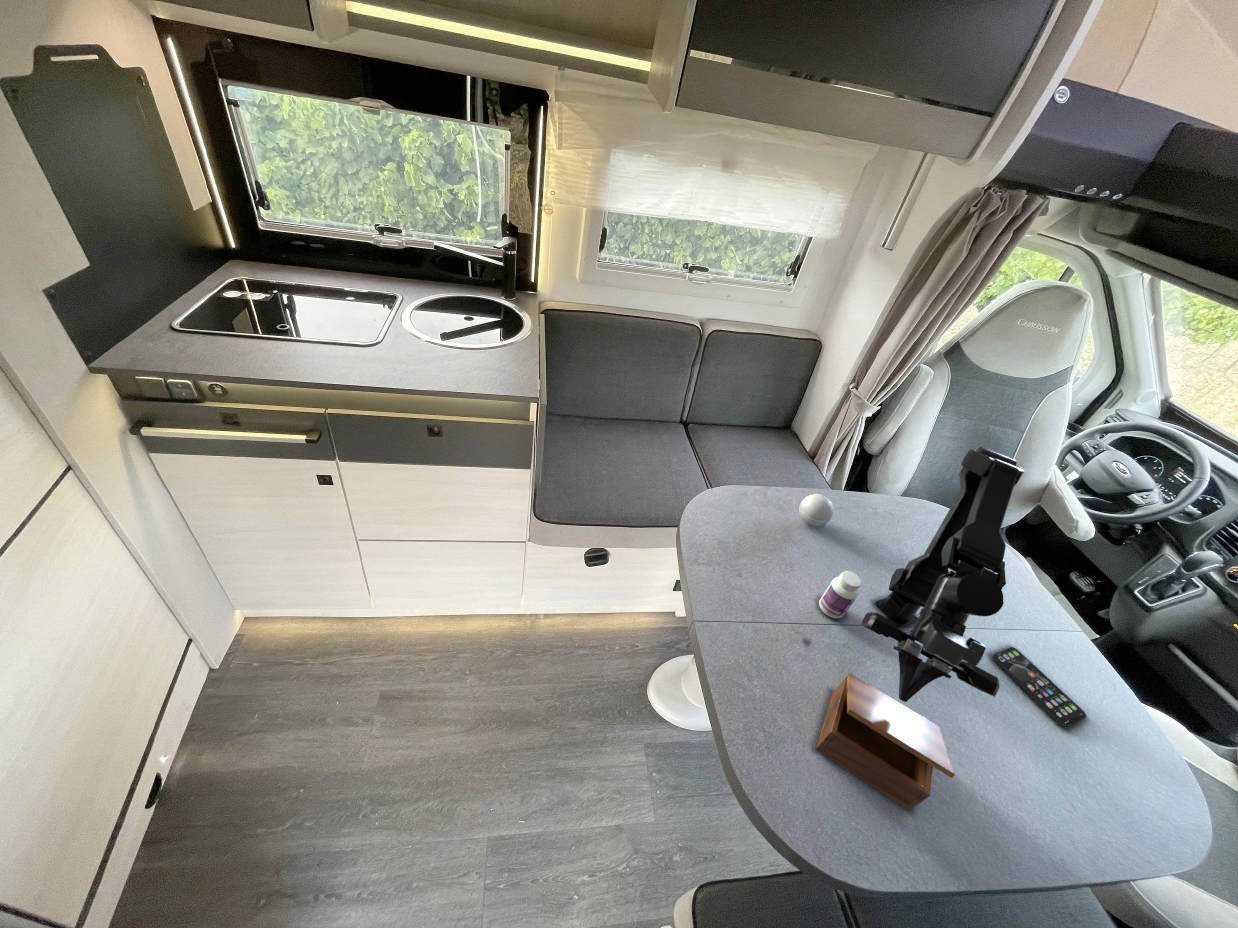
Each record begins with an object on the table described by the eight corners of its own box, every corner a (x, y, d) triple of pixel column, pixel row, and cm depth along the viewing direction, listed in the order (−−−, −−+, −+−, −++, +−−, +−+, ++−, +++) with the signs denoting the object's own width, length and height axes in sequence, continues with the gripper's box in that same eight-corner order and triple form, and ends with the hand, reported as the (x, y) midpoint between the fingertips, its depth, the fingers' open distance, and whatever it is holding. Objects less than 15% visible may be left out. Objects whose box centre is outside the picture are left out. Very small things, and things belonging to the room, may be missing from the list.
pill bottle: (844, 623, 101) (866, 593, 95) (818, 613, 102) (838, 583, 96) (843, 603, 105) (864, 573, 100) (818, 594, 106) (837, 564, 100)
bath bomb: (796, 506, 129) (808, 483, 124) (826, 518, 127) (840, 495, 123) (792, 525, 123) (804, 501, 118) (824, 537, 121) (838, 514, 116)
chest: (909, 810, 75) (930, 795, 71) (815, 748, 80) (830, 731, 76) (917, 745, 83) (936, 729, 80) (832, 693, 88) (846, 675, 85)
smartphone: (1013, 645, 103) (1088, 715, 92) (1011, 647, 103) (1086, 717, 93) (991, 654, 100) (1066, 727, 89) (989, 656, 100) (1063, 729, 90)
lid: (952, 778, 68) (955, 774, 68) (846, 713, 73) (849, 708, 73) (936, 729, 79) (939, 726, 79) (846, 676, 84) (848, 672, 84)
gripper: (898, 579, 74) (851, 672, 73) (1038, 650, 68) (989, 754, 66) (881, 581, 85) (840, 663, 83) (1001, 642, 78) (958, 732, 77)
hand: (901, 700), depth 77 cm, fingers closed
